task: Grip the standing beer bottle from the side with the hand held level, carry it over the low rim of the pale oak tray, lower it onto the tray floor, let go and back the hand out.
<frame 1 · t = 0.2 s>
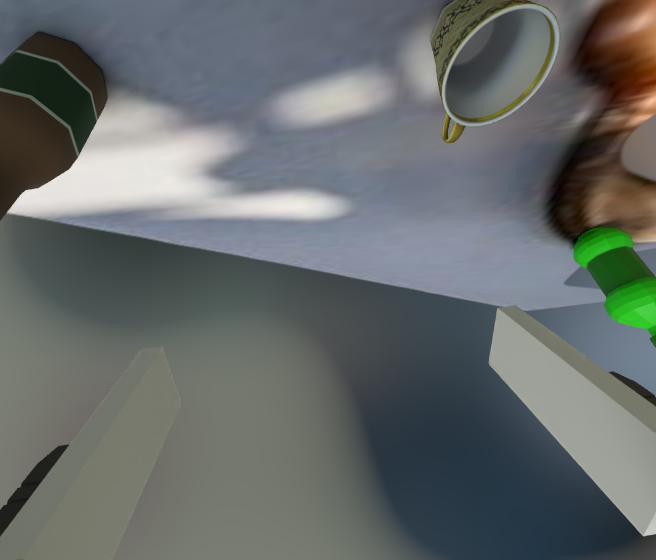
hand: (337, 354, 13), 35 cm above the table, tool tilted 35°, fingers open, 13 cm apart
plastic bottle: (590, 234, 68), on the table
beer bottle: (67, 72, 34), on the table
ceramic cup: (453, 45, 35), on the table
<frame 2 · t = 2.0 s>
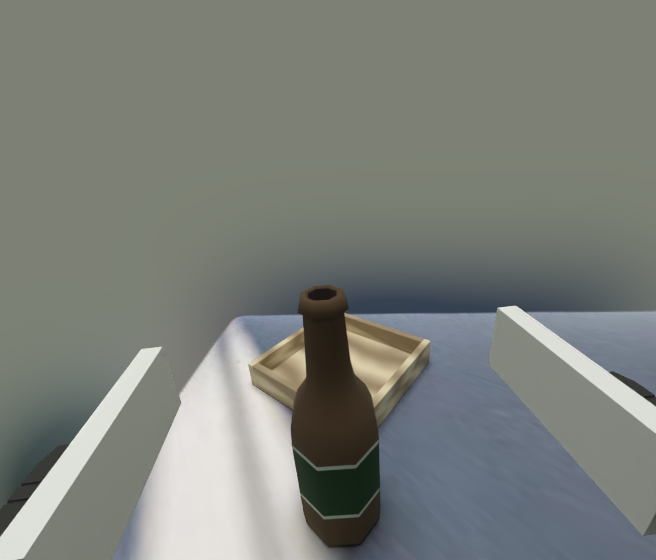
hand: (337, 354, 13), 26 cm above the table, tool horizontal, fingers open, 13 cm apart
oak tray: (342, 372, 50), on the table
beer bottle: (342, 507, 32), on the table
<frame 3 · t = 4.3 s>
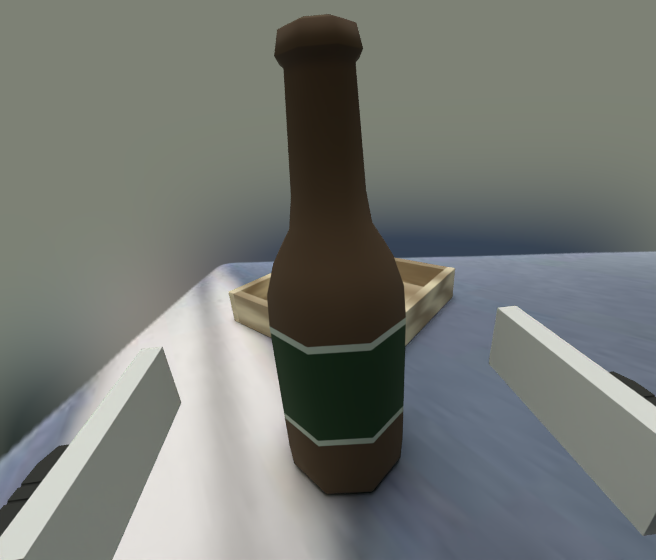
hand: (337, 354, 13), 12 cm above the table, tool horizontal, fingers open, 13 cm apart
oak tray: (345, 308, 41), on the table
beer bottle: (346, 447, 22), on the table
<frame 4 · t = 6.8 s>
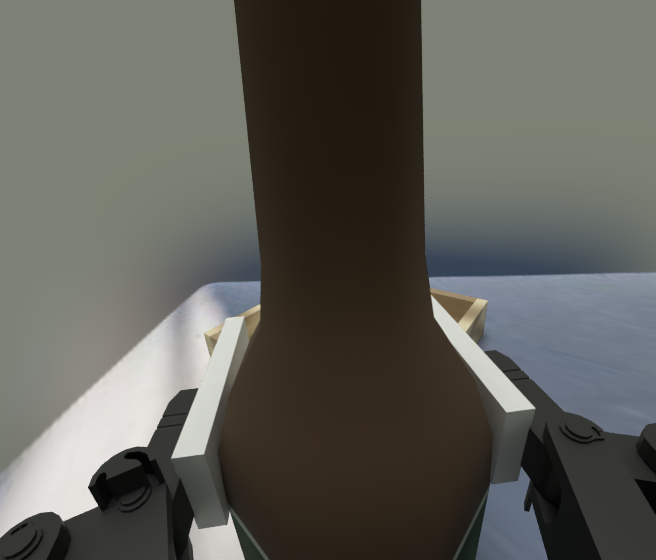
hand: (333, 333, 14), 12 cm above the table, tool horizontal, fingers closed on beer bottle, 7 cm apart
oak tray: (351, 350, 33), on the table
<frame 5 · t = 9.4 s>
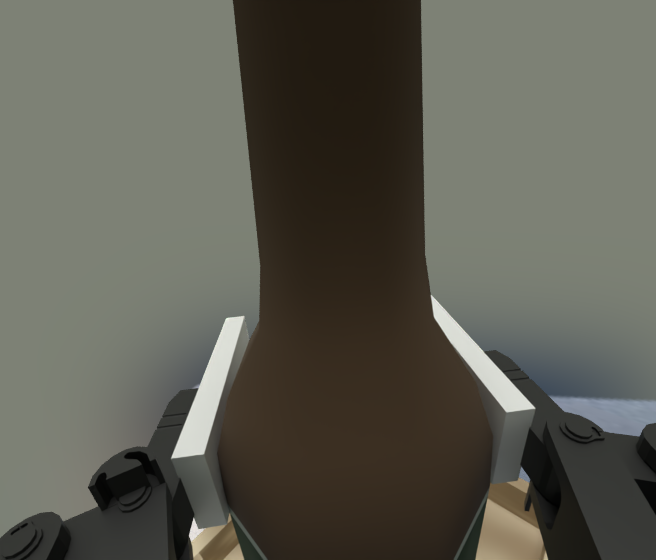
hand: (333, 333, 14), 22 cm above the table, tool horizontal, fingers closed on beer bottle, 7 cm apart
when the fingers open (14 cm above the table, at t = 12.1 s): beer bottle drops 1 cm, resting on oak tray.
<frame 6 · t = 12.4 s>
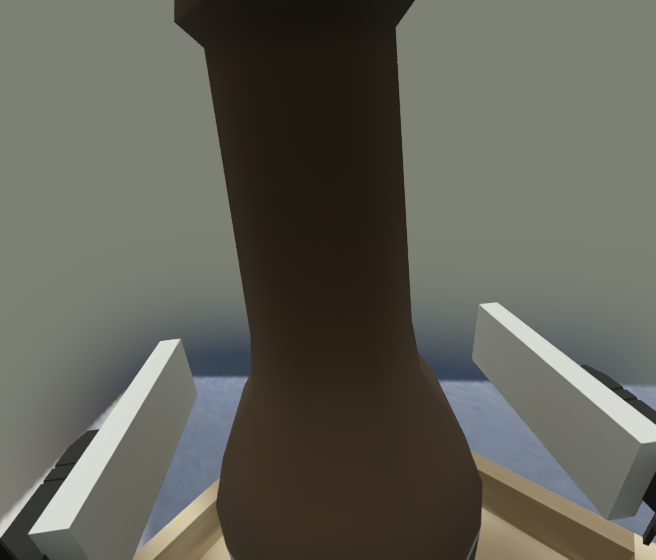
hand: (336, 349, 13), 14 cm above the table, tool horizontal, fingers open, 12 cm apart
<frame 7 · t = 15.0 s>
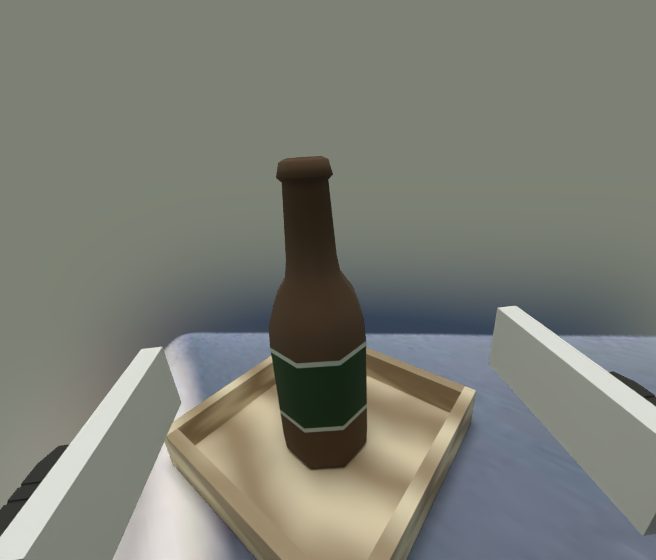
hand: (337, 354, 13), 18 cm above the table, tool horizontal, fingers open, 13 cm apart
oak tray: (326, 441, 30), on the table
beer bottle: (326, 435, 29), point 1 cm above the table, touching oak tray
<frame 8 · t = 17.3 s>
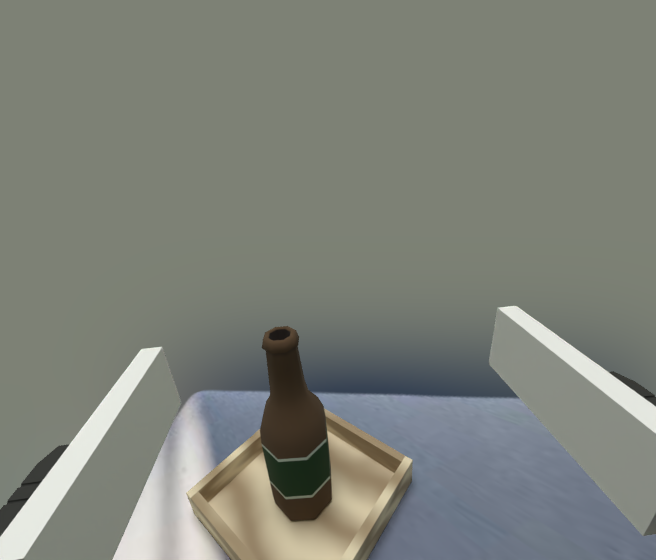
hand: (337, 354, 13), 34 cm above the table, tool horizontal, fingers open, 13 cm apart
oak tray: (305, 496, 41), on the table
beer bottle: (304, 492, 41), point 1 cm above the table, touching oak tray
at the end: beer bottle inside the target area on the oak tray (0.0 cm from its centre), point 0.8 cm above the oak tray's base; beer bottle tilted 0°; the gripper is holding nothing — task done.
